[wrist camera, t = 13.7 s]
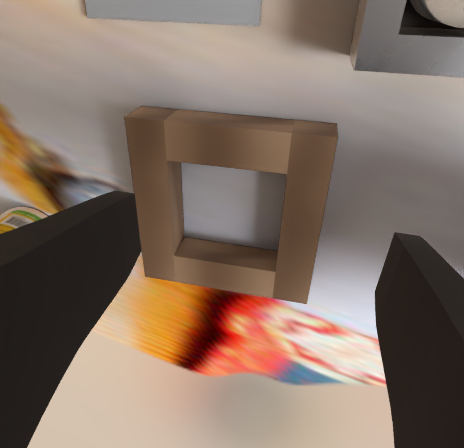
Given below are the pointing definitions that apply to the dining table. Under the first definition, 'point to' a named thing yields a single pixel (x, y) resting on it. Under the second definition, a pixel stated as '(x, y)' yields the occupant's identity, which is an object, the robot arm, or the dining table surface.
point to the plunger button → (441, 11)
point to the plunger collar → (403, 43)
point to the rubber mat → (179, 11)
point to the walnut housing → (232, 156)
